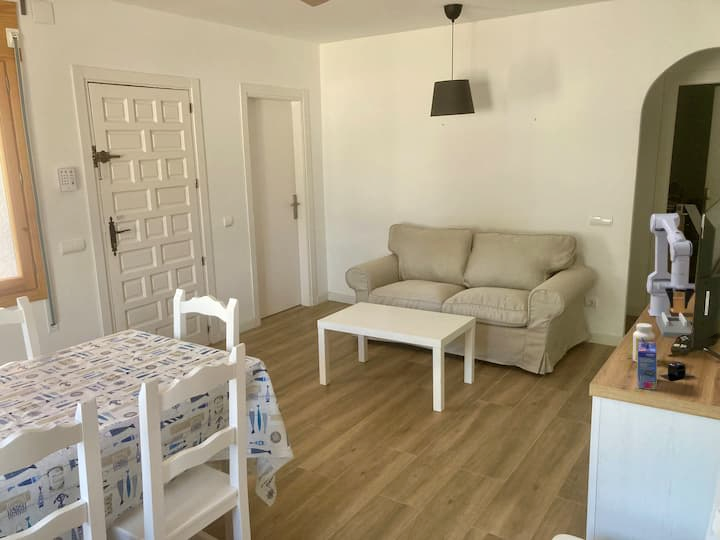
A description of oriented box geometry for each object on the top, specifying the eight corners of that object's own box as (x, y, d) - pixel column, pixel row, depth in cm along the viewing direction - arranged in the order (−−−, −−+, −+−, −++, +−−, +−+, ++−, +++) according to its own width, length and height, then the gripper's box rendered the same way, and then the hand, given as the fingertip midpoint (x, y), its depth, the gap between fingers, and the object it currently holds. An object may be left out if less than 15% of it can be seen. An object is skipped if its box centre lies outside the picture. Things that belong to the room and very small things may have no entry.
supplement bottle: (657, 364, 192) (659, 327, 189) (637, 365, 192) (638, 328, 189) (648, 357, 198) (649, 321, 196) (629, 358, 198) (629, 322, 196)
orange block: (671, 310, 222) (671, 297, 221) (682, 310, 220) (683, 297, 220) (672, 312, 218) (673, 299, 217) (684, 312, 217) (685, 300, 216)
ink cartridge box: (636, 376, 183) (637, 333, 180) (655, 378, 180) (657, 334, 178) (636, 388, 174) (637, 343, 171) (657, 390, 172) (658, 344, 169)
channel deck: (655, 320, 237) (656, 311, 237) (685, 321, 234) (686, 312, 233) (663, 337, 217) (663, 327, 217) (696, 338, 213) (696, 328, 213)
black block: (669, 384, 176) (670, 370, 175) (651, 376, 183) (651, 363, 182) (701, 378, 180) (702, 364, 179) (682, 370, 186) (682, 357, 186)
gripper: (659, 275, 214) (658, 310, 217) (704, 275, 209) (702, 311, 212) (657, 271, 221) (656, 305, 223) (700, 271, 215) (698, 306, 218)
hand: (678, 307), depth 218 cm, fingers closed on orange block, 4 cm apart
